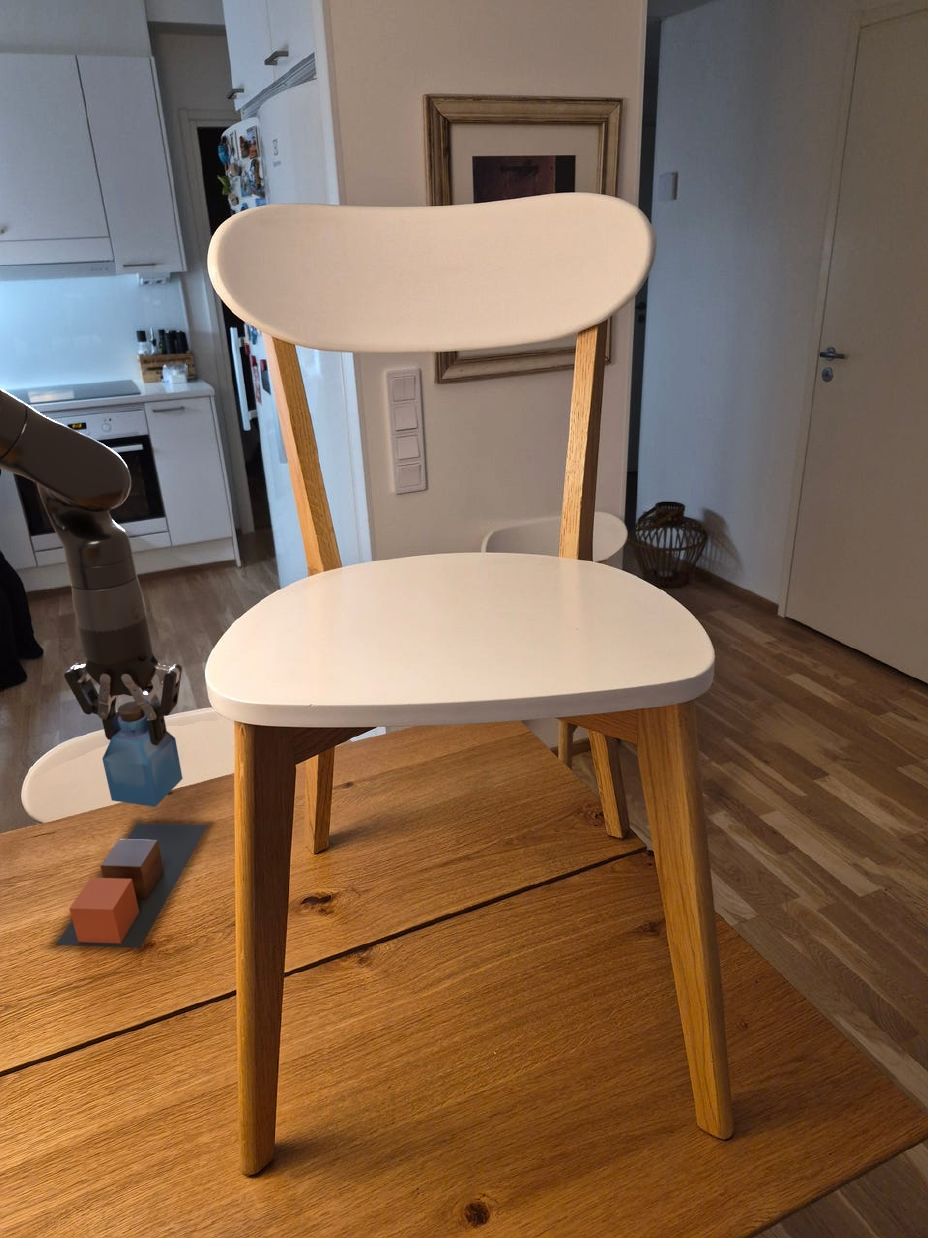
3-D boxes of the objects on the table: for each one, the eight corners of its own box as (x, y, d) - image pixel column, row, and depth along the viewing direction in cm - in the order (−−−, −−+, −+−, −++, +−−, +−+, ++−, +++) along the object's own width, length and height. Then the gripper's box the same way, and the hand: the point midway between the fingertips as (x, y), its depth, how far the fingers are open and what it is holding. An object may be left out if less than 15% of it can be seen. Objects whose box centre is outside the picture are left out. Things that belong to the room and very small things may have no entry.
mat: (56, 950, 94) (45, 911, 91) (137, 827, 114) (130, 793, 111) (141, 953, 93) (132, 914, 91) (208, 829, 113) (202, 794, 111)
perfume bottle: (111, 800, 103) (93, 717, 98) (140, 772, 109) (124, 693, 104) (155, 807, 102) (138, 723, 97) (182, 778, 107) (167, 698, 103)
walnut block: (107, 898, 100) (100, 865, 98) (125, 870, 105) (118, 838, 103) (147, 899, 100) (140, 867, 98) (164, 871, 104) (157, 839, 102)
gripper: (184, 603, 98) (204, 726, 105) (68, 602, 99) (96, 724, 106) (158, 629, 92) (182, 759, 98) (35, 628, 93) (66, 756, 99)
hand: (137, 740), depth 102 cm, fingers closed on perfume bottle, 4 cm apart
